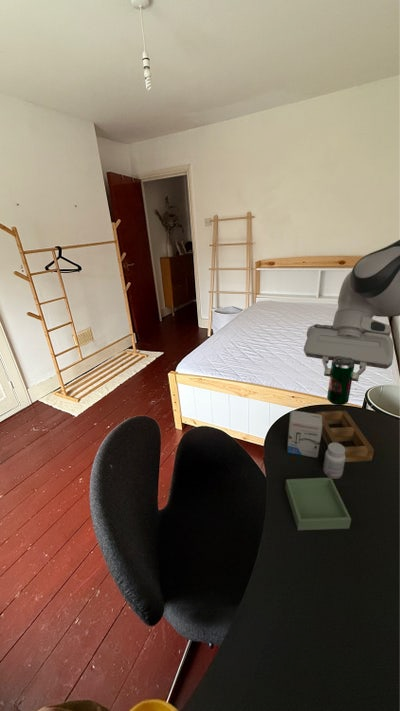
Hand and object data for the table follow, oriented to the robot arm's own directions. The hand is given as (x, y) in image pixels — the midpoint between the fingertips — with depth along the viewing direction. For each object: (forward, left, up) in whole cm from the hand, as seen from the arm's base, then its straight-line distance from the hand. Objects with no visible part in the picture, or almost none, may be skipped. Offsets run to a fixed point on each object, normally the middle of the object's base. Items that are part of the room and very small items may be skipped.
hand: (340, 378), depth 74 cm
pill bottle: (+1, +6, -25) cm, 26 cm away
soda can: (0, -1, -7) cm, 7 cm away
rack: (-6, -6, -25) cm, 26 cm away
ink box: (+7, -2, -25) cm, 26 cm away
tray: (+9, +16, -25) cm, 31 cm away
